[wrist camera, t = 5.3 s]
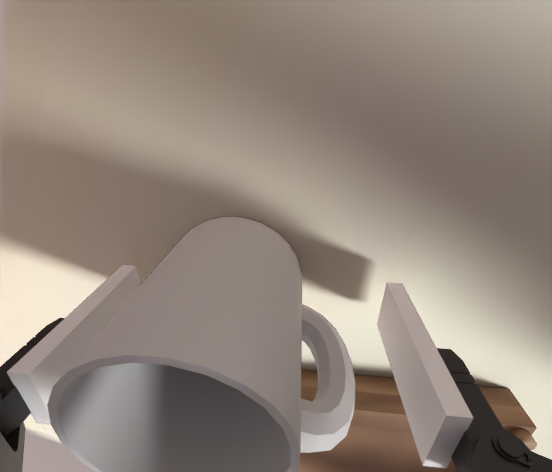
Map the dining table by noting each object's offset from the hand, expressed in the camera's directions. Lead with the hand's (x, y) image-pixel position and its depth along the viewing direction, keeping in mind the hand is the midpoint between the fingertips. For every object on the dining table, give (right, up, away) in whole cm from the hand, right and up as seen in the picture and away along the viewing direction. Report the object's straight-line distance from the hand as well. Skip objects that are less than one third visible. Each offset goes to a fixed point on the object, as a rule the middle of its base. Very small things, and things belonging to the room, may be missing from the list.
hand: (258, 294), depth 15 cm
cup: (0, +1, +1) cm, 2 cm away
